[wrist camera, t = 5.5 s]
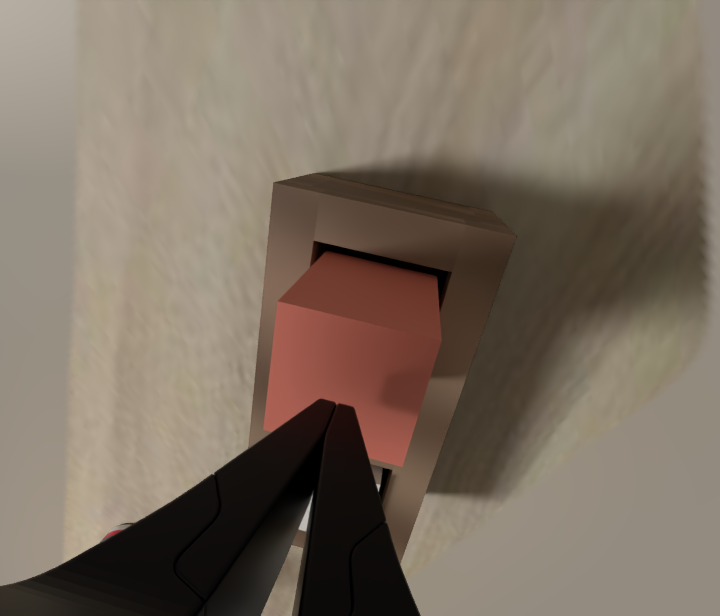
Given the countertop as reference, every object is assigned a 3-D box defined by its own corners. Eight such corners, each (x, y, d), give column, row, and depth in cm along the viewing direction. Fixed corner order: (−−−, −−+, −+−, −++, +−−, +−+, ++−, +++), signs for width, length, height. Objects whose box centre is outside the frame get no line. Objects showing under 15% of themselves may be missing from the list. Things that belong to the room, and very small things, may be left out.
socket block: (402, 492, 24) (396, 574, 19) (275, 457, 24) (240, 529, 20) (492, 211, 17) (516, 236, 12) (313, 173, 17) (273, 182, 13)
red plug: (409, 371, 15) (402, 467, 11) (311, 347, 16) (263, 430, 11) (436, 276, 14) (441, 341, 9) (326, 250, 14) (277, 301, 9)
